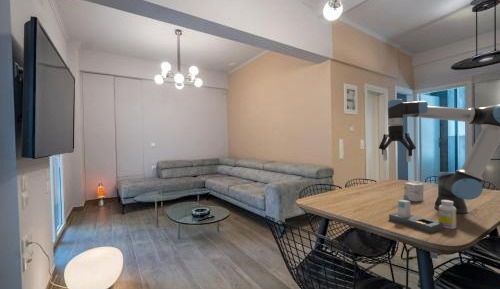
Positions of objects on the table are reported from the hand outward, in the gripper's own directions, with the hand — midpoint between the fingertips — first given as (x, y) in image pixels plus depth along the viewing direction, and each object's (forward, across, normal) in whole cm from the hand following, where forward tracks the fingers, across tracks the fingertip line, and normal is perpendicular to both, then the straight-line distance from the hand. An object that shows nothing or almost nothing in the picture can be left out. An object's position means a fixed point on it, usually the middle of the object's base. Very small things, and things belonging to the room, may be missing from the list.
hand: (396, 161), depth 138 cm
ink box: (+31, -10, +37) cm, 49 cm away
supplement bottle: (+31, +26, -3) cm, 40 cm away
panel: (+31, +16, -13) cm, 37 cm away
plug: (+31, +11, -13) cm, 35 cm away
